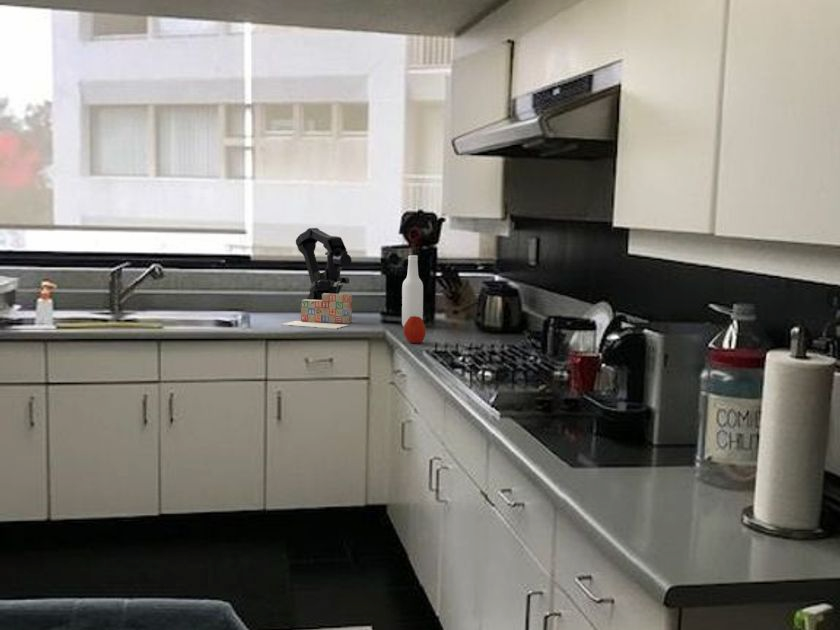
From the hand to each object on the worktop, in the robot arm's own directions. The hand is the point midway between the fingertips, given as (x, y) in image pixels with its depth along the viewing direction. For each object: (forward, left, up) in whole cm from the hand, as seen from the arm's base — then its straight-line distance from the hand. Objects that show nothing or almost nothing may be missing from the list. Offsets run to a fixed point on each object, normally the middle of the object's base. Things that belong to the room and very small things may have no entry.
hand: (333, 301), depth 400 cm
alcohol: (+1, +38, -9) cm, 39 cm away
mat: (+17, 0, -8) cm, 19 cm away
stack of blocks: (+7, 0, -8) cm, 11 cm away
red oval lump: (+40, +56, -9) cm, 69 cm away
